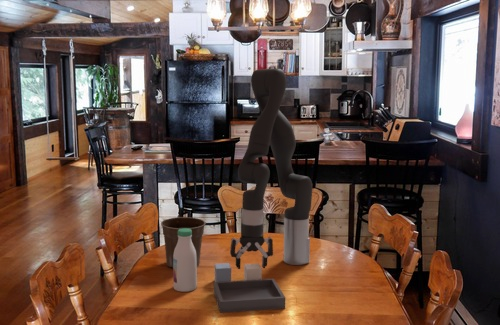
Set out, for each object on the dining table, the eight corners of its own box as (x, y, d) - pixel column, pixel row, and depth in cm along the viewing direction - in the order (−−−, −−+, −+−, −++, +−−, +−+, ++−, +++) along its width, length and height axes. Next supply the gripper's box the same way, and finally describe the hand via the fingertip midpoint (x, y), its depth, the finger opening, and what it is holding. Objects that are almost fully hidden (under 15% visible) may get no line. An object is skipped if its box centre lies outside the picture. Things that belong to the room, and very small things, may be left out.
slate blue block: (229, 279, 198) (229, 262, 198) (231, 284, 194) (231, 267, 193) (214, 280, 198) (214, 263, 197) (216, 285, 193) (216, 268, 192)
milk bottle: (200, 285, 193) (200, 227, 189) (190, 293, 186) (190, 234, 182) (179, 282, 195) (179, 225, 192) (169, 290, 188) (168, 231, 185)
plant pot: (200, 255, 223) (199, 215, 220) (210, 269, 208) (210, 226, 205) (158, 259, 218) (157, 218, 215) (165, 274, 203) (165, 230, 200)
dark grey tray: (273, 288, 191) (273, 278, 190) (285, 308, 175) (285, 297, 175) (213, 292, 187) (213, 281, 187) (220, 312, 172) (220, 301, 171)
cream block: (258, 280, 198) (258, 263, 197) (261, 285, 193) (261, 268, 192) (244, 280, 197) (244, 264, 196) (246, 286, 193) (246, 269, 192)
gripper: (271, 218, 197) (269, 263, 199) (229, 219, 194) (228, 265, 197) (275, 224, 189) (274, 271, 192) (232, 224, 187) (231, 272, 190)
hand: (251, 267), depth 194 cm, fingers open, 8 cm apart
